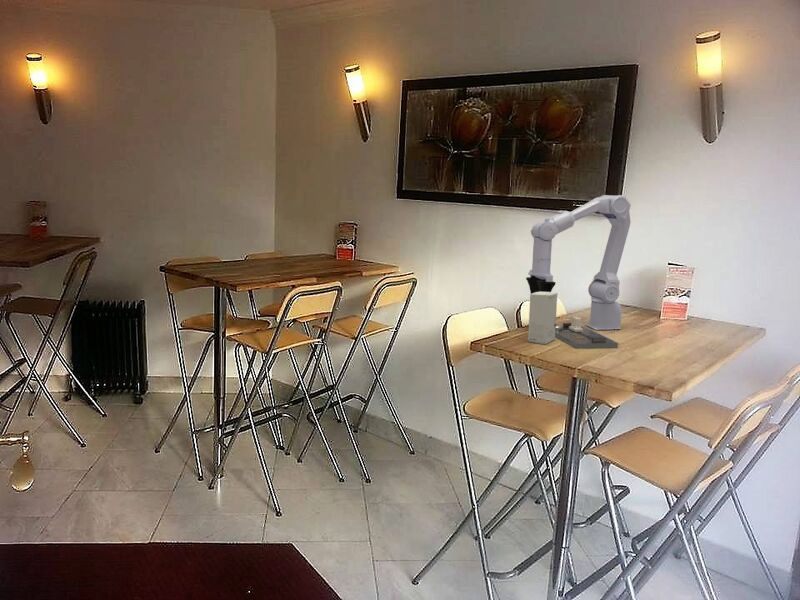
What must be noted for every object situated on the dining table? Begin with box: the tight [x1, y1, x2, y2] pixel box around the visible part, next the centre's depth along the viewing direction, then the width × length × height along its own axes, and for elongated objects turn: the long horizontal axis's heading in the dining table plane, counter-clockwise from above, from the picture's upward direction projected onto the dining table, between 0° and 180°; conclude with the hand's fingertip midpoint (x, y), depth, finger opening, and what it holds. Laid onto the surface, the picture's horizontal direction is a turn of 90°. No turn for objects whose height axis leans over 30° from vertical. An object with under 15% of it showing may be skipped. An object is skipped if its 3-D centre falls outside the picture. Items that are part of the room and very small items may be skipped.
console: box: [555, 322, 619, 349], centre depth 184 cm, size 13×22×3 cm, turn 10°
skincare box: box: [527, 291, 558, 345], centre depth 179 cm, size 8×6×15 cm
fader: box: [569, 316, 583, 332], centre depth 188 cm, size 3×4×4 cm, turn 10°
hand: (539, 300), depth 194 cm, fingers open, 7 cm apart
